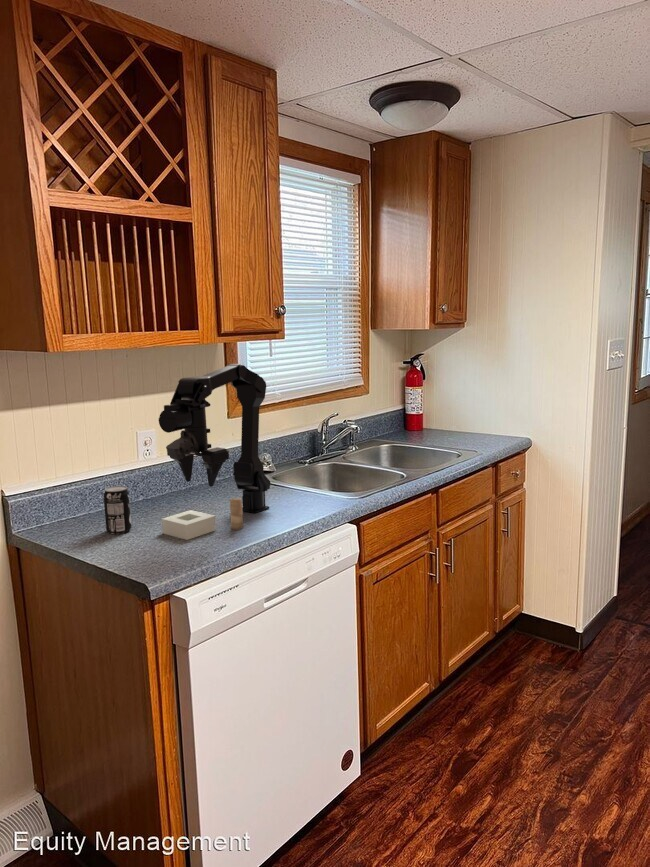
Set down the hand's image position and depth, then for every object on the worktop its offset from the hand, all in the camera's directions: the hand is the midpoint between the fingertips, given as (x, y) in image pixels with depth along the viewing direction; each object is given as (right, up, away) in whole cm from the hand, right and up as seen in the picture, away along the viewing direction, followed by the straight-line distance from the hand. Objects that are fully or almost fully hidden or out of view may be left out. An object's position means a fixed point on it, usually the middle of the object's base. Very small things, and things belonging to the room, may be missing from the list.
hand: (199, 483), depth 177 cm
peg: (+9, -12, +4) cm, 16 cm away
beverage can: (-23, -13, +4) cm, 27 cm away
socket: (-3, -13, +2) cm, 14 cm away
